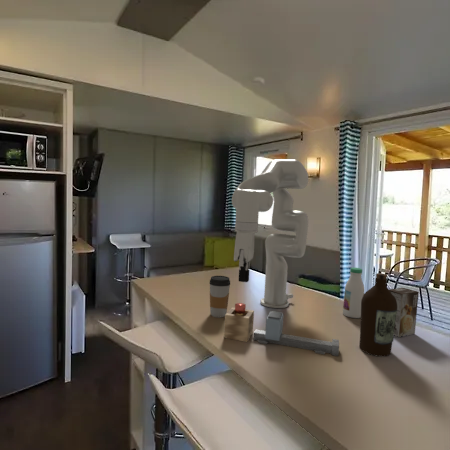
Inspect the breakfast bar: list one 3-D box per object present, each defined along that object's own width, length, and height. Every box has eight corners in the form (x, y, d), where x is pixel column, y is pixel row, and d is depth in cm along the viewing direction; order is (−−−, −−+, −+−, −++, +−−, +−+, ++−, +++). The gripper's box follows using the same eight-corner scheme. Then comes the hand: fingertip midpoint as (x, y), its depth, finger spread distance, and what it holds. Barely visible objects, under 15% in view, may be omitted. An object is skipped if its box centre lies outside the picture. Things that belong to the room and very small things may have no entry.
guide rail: (252, 341, 113) (252, 332, 113) (256, 334, 119) (256, 325, 118) (338, 357, 105) (339, 346, 104) (338, 348, 110) (338, 339, 110)
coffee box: (399, 327, 132) (403, 287, 130) (415, 334, 126) (419, 291, 124) (383, 331, 127) (387, 289, 126) (399, 338, 122) (403, 293, 120)
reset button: (240, 317, 119) (241, 302, 119) (246, 320, 116) (247, 305, 116) (232, 319, 117) (232, 303, 117) (238, 322, 114) (239, 307, 114)
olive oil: (350, 343, 115) (356, 270, 113) (378, 341, 117) (384, 270, 115) (370, 358, 105) (378, 278, 102) (400, 356, 107) (408, 278, 105)
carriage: (265, 339, 111) (266, 316, 110) (269, 331, 118) (270, 309, 117) (278, 341, 110) (280, 318, 109) (282, 333, 116) (283, 311, 116)
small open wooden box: (224, 337, 115) (225, 314, 114) (230, 329, 122) (232, 307, 122) (247, 341, 112) (248, 318, 112) (252, 332, 120) (254, 310, 119)
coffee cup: (226, 319, 131) (228, 281, 130) (205, 317, 133) (207, 279, 132) (230, 312, 140) (232, 276, 138) (210, 310, 141) (212, 274, 140)
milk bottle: (362, 314, 145) (366, 268, 143) (361, 320, 138) (365, 271, 136) (343, 311, 148) (347, 265, 146) (341, 316, 141) (345, 268, 139)
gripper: (240, 224, 122) (238, 275, 124) (229, 228, 108) (226, 285, 109) (261, 226, 120) (258, 277, 122) (252, 230, 106) (249, 288, 107)
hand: (243, 281), depth 115 cm, fingers closed
